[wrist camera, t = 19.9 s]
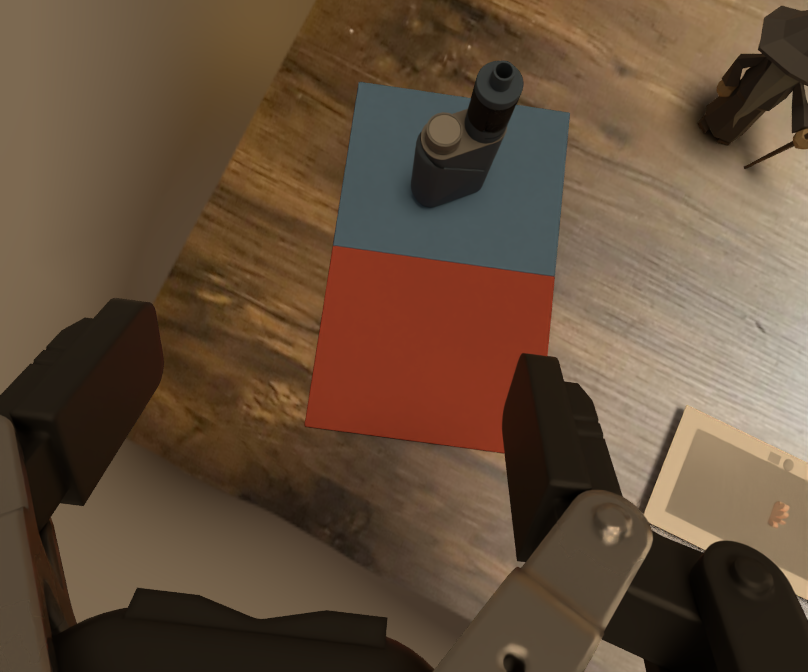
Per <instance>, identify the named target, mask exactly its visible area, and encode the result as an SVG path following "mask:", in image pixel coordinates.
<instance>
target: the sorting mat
mask: <svg viewBox="0 0 808 672" xmlns="http://www.w3.org/2000/svg"><path fill="white" fill-rule="evenodd" d="M470 100H471V98H466V97H459V96H452V95H445V94H439V93H432V92H425V91H418V90H411V89H405V88H398V87H391V86H384V85H377V84H371V83H364V82H359V84H358V91H357V97H356V103H355V110H354V116H353V122H352V129H351V135H350V141H349V148H348V154H347V160H346V167H345V173H344V179H343V186H342V192H341V198H340V205H339V211H338V217H337V224H336V230H335V236H334V243H333V249H332V255H331V262H330V268H329V274H328V280H327V287H326V293H325V299H324V306H323V312H322V318H321V325H320V331H319V337H318V344H317V350H316V356H315V363H314V369H313V375H312V382H311V388H310V394H309V401H308V407H307V413H306V420H305V427H313V428H320V429H328V430H335V431H343V432H350V433H357V434H365V435H372V436H380V437H387V438H395V439H402V440H410V441H417V442H425V443H432V444H440V445H447V446H455V447H462V448H470V449H477V450H485V451H492V452H500V453H504V444H503V435H502V416H503V410H504V405H505V401H506V398H507V395H508V392H509V388H510V385H511V382H512V379H513V376H514V372H515V369H516V366H517V363H518V360H519V357H520V355H521V354H522V353H528V354H535V355H543V356H547V354H548V343H549V333H550V322H551V311H552V300H553V290H554V279H555V277H554V276H555V268H556V257H557V247H558V236H559V225H560V214H561V204H562V193H563V182H564V171H565V161H566V150H567V139H568V129H569V118H570V113H568V112H561V111H554V110H547V109H541V108H534V107H527V106H520V105H516V106H515V109H514V111H513V113H512V116H511V118H510V120H509V123H508V125H507V132H506V134H505V136H504V138H503V140H502V142H501V145H500V147H499V149H498V152H497V154H496V156H495V158H494V160H493V163H492V165H491V167H490V170H489V172H488V174H487V176H486V179H485V181H484V183H483V186H482V188H481V189H480V190H479V191H478V192H476V193H473V194H470V195H467V196H464V197H461V198H459V199H456V200H453V201H450V202H447V203H444V204H442V205H439V206H436V207H431V208H430V207H425V206H423V205H422V204H420V203H419V202H418V201H417V200H416V199H415V197H414V195H413V193H412V189H411V178H412V170H413V163H414V155H415V147H416V141H417V138H418V135H419V134H420V133H421V132H422V129H423V127H424V126H425V125H426V124H427V123H428V121H429V119H430V118H431V117H432V116H434V115H435V114H437V113H442V112H446V113H451V114H453V113H456V112H459V111H462V110H465V109H468V107H469V103H470Z"/></svg>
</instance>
